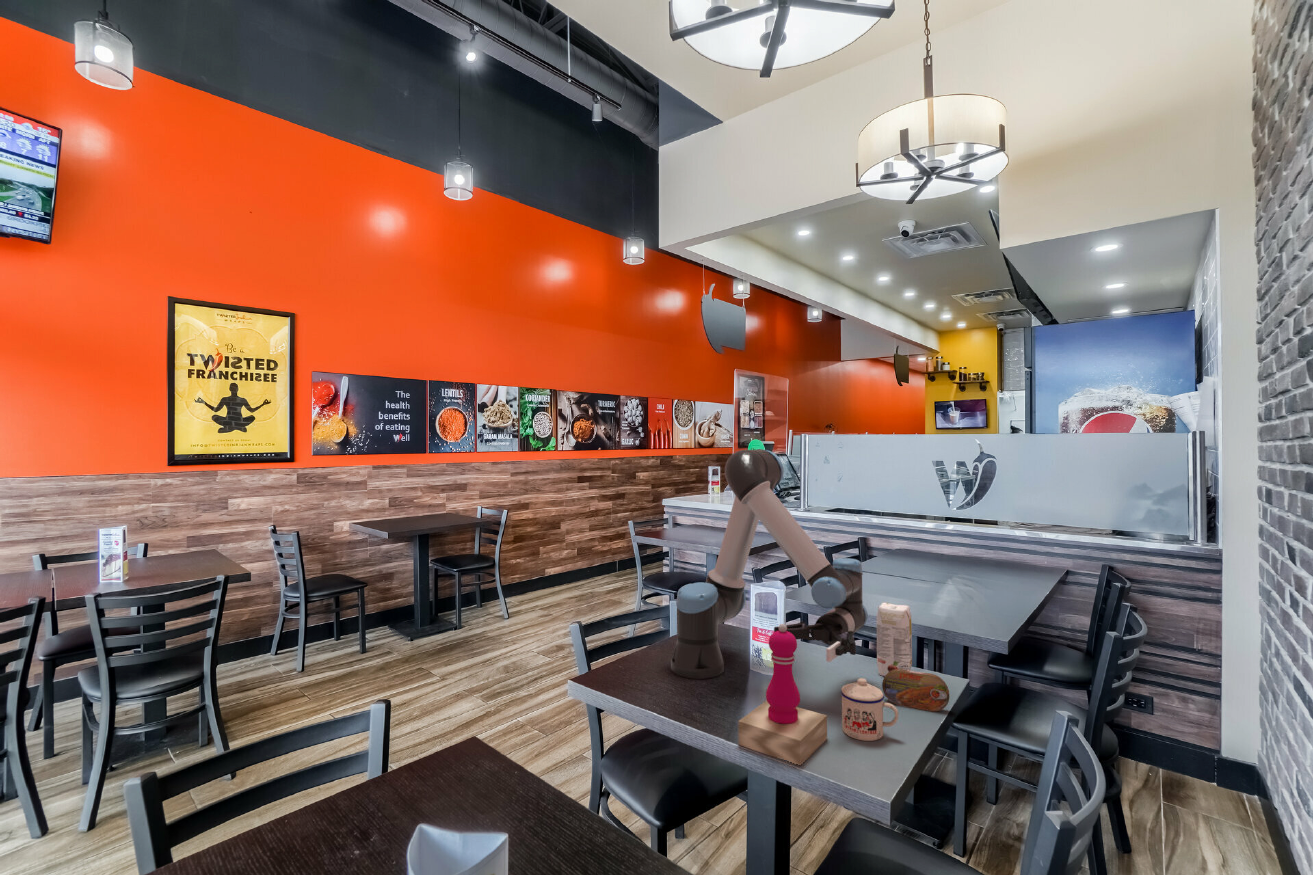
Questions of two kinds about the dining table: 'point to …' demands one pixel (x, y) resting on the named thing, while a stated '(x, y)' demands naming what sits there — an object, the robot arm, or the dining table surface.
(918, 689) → the tin
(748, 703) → the dining table surface
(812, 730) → the birch block
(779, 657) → the pepper mill
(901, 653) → the juice carton
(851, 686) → the teacup with lid
